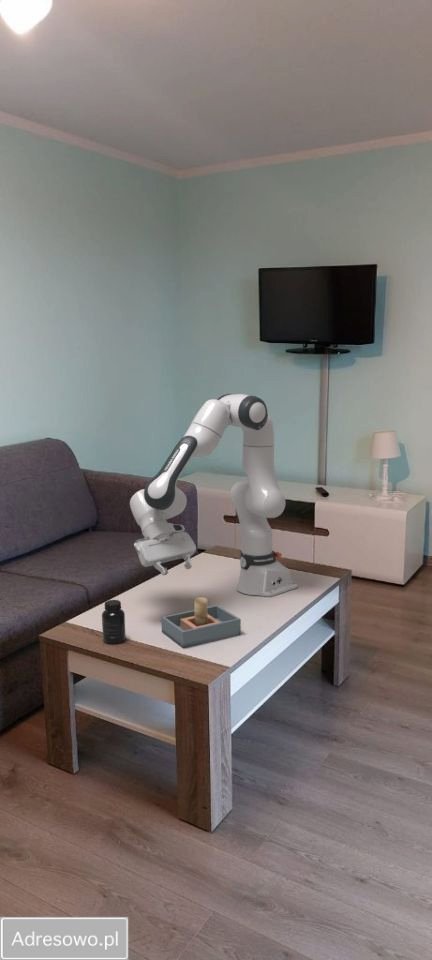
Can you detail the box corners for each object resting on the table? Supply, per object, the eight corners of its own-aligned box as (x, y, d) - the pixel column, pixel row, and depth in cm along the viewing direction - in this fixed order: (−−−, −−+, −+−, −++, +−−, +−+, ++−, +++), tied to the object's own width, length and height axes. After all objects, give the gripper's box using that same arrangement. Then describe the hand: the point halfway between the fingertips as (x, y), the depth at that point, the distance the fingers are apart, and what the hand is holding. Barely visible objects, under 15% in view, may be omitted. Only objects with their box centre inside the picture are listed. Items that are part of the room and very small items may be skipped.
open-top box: (217, 619, 234) (217, 604, 233) (240, 634, 222) (240, 619, 221) (161, 632, 224) (161, 616, 223) (182, 648, 213) (182, 632, 212)
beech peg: (203, 626, 226) (203, 596, 224) (210, 631, 222) (209, 600, 221) (192, 629, 224) (191, 598, 222) (198, 633, 221) (198, 602, 219)
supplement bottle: (105, 635, 222) (103, 598, 220) (127, 635, 222) (126, 598, 220) (100, 644, 215) (99, 606, 213) (123, 644, 215) (122, 606, 213)
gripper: (135, 535, 226) (154, 572, 220) (187, 524, 239) (206, 559, 233) (128, 546, 230) (146, 583, 224) (179, 534, 243) (198, 569, 237)
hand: (177, 571), depth 229 cm, fingers open, 8 cm apart
